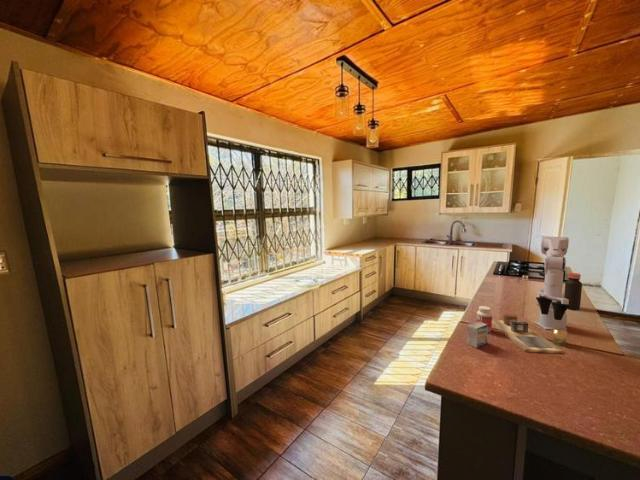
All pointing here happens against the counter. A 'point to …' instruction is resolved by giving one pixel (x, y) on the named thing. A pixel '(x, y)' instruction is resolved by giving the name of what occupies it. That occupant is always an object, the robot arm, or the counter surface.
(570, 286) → the vinegar
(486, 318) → the pill bottle
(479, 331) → the medicine box
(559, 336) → the cylinder
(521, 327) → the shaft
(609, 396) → the counter surface
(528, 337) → the clamp jig
